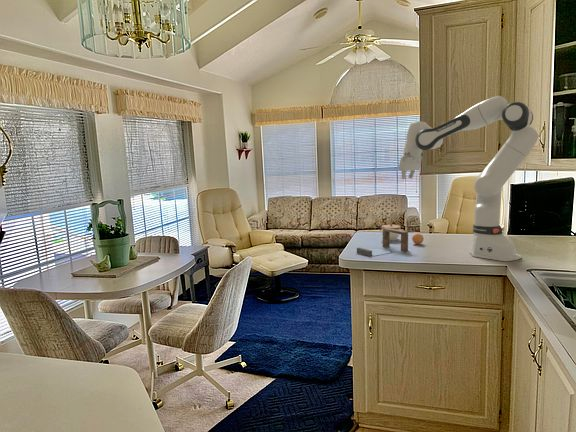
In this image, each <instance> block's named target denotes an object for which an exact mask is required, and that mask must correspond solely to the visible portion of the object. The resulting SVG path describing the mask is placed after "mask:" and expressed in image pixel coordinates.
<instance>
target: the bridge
mask: <svg viewBox="0 0 576 432" xmlns="http://www.w3.org/2000/svg"><path fill="white" fill-rule="evenodd" d="M390 232H392V233H397V234H400V251H401V252H408V251H409V231H405V230H396V229H390V228H383V235H382V247H384V248H386V247H387V248H389V247H390V243H391V241H390Z"/></svg>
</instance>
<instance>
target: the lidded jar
mask: <svg viewBox="0 0 576 432" xmlns="http://www.w3.org/2000/svg"><path fill="white" fill-rule="evenodd" d="M383 228H390V229H396V230H401V228H402V226H401V225H398V224H393V223H389V224H384V225H381V233H382V234H381V235H382V236H383ZM401 231H402V230H401ZM400 236H401V234H397V233H392V232H390V240H393V241H396V240H397V239H399V237H400Z"/></svg>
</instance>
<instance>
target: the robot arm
mask: <svg viewBox="0 0 576 432" xmlns="http://www.w3.org/2000/svg"><path fill="white" fill-rule="evenodd" d="M533 120H534V114H533V112H532V110H531V108H530V107H529V106H528V105H527V104H526V103H524V102H521V101H514V102H510V103H508V101H507V99H506V98H505V97H503V96H501V95H496V96H492V97H490V98H488V99H485V100H483V101H480V102H479V103H476V104H475V105H473V106H471V107H469V108H467V109H466V110H465V111H464V112H462V113H460V114H459V115H457V116H455V117H454V118H451V119H450V120H448V121H446V122H443V123H442V124H440V125H438V126H435V127H431V126H430V125H428V123H427V122H426V121H413V122H410V124H409V126H408V129H407V133H406V142H405V144H404V148H403V153H402V155H401V158H400V160H399V164H398V170H399V171H401V180H406V178H407V176H406V175H407V174H406V173H407V171H408V172H410V173H409V174H408V179H413V178H414V174H415V172H416V171H418V170H419V169H420V167H421V163H422V158H423V157H424V152H423V151H428V150H435V149H438V148H440V147H441V146H442V145H443V143H444V138H447V137H449V136H451V135H453V134H455V133H459V132H463V131H474V130H475V131H476V130H478V129H481V128H483V127H486V126H488V125H490V124H492V123H494V122H497V121H503V122H504V124H505V125H506V126H507V127H508V129H510V130H511V133H510V136H509V137H508V138H507V139H506V141H505V142H504V143H503V145H502V146H501V147H500V149H499V150H498V151H497V152H496V154H495V155H494V156H493V158H492V159H491V160H490V162H489V163H488V164H487V165H486V167H485V168H484V169H483V170H482V171H481V173H480V174H479V175H478V176H477V177H476V179H475V180H474V184H473V188H474V192H475V193H476V194H475V196H476V197H475V204H474V221H473V222H474V223H473V225H472V234H473V236H472V242H471V247H470V250H469V254H470V255H471V257H474V258H475V257H476V258H480V259H487V260H488V259H489V260H493V261H494V260H495V261H500V262H511V261H517V260H519V259H521V258H522V255H521V254H518V253H517V249H516V246H515V243H513V241H511V240H510V239H509V238H508V237H507V236H506V235H505V234H504V232H503V231H504V230H506V229H505V228H506V227H503V228H502V226H501V225H500V222H501V221H500V220H501V204H502V203H501V202H502V191H503V187H504V185H505V184H506V183H507V182H508V180H509V179H510V178H511V176H512V175H513V174H514V173H515V172H516V170H517V169H518V168H519V167H520V165H521V164H522V163H523V162H524V160H525V159H526V158H527V157H528V155H529V154H530V153H531V151H532V150H533V148H534V147H535V145H536V143H537V141H538V139H539V133H538V132H537V130H536V129H535V128H533V127H532V126H531V124H532V122H533Z"/></svg>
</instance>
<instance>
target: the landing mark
mask: <svg viewBox="0 0 576 432" xmlns="http://www.w3.org/2000/svg"><path fill="white" fill-rule="evenodd" d="M368 250H372V256H373V257H377V256H383V255H386V254H392V253H393V252H392V251H388V250H386V249H385V250H384V249H380V248H369V249H368Z"/></svg>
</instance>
